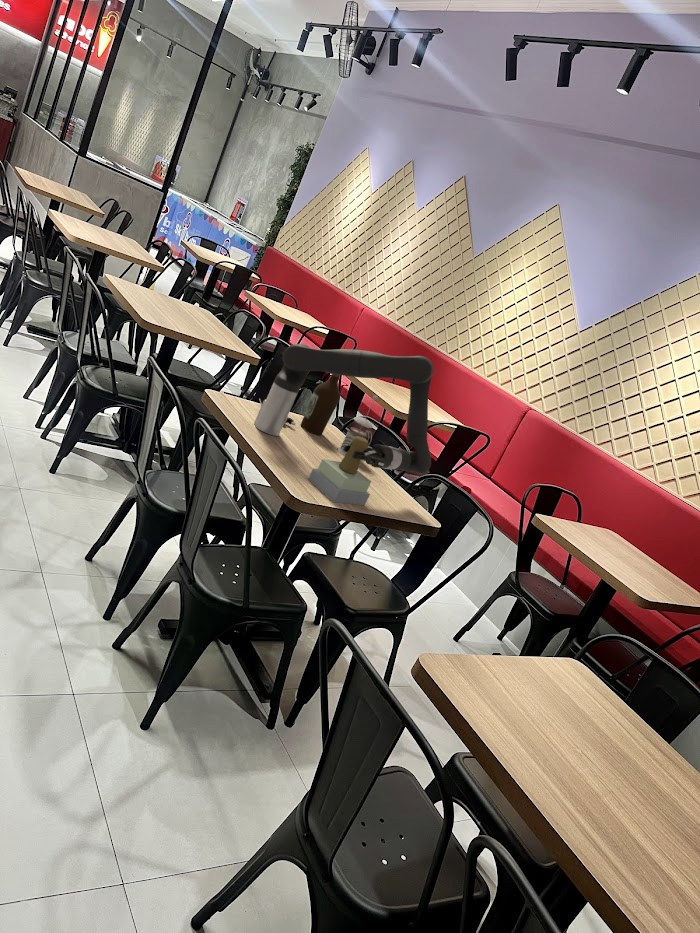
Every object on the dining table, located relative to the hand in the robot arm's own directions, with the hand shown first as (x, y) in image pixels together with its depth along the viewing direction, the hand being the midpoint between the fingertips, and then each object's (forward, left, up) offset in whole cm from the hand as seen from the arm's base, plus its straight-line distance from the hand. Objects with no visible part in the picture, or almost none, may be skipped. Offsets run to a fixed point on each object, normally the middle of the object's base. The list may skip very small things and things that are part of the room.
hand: (349, 451), depth 215 cm
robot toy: (-59, +19, -15) cm, 64 cm away
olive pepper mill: (0, +3, -6) cm, 7 cm away
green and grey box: (0, +3, -14) cm, 15 cm away
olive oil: (-54, +35, -15) cm, 66 cm away
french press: (-34, +40, -15) cm, 54 cm away
